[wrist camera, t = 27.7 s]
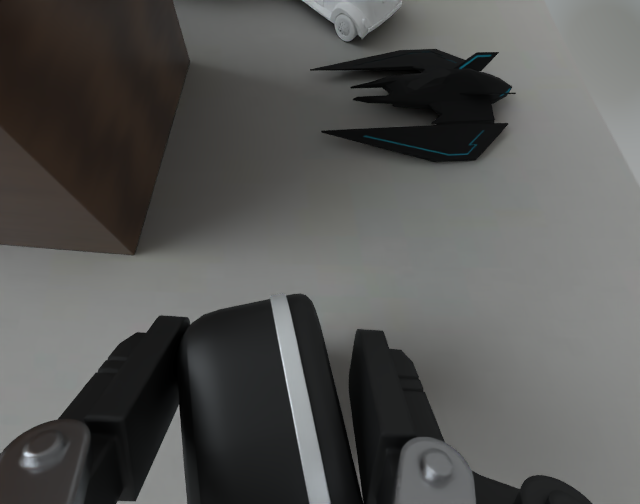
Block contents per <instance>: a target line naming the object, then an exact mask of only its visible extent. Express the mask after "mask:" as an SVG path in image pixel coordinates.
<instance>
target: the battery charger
mask: <svg viewBox="0 0 640 504" xmlns="http://www.w3.org/2000/svg"><path fill="white" fill-rule="evenodd" d="M177 379H178V392H179V405H180V418H181V432H182V445H183V458H184V469H185V481H186V493H187V504H363V500H362V496H361V492H360V488H359V483H358V479H357V475H356V471H355V466H354V462H353V458H352V454H351V449H350V445H349V441H348V437H347V432H346V428H345V424H344V420H343V416H342V411H341V407H340V403H339V399H338V395H337V391H336V387H335V383H334V378H333V374H332V370H331V366H330V362H329V358H328V354H327V350H326V345H325V341H324V338H323V334H322V330H321V326H320V323H319V319H318V316H317V313H316V310H315V307H314V305H313V302H312V301H311V300H310V299H309V298H308V297H307V296H306V295H304V294H292V295H287V296H286V295H285V293H281V294H276V295H271V296H270V299H268V300H263V301H258V302H253V303H249V304H244V305H239V306H234V307H229V308H224V309H220V310H217V311H214V312H211V313H208V314H205V315H203V316H201V317H200V318H198V319H197V320H196V321H194V322H193V323H192V324H191V325H190V326H189V327H188V329H187V330H186V332H185V333H184V334H183V336H182V337H181V341H180V345H179V349H178V353H177Z"/></svg>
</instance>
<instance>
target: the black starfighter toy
mask: <svg viewBox="0 0 640 504" xmlns="http://www.w3.org/2000/svg"><path fill="white" fill-rule="evenodd" d="M498 53H499V52H478V53H475V54H474V55H472V56H471V57H470V58H468V59H467V60H464V59H461V58H458V57H456V56H453V55H450V54H448V53H445V52H442V51H440V50H437V49H422V50H399V51H395V52H390V53H385V54H381V55H376V56H371V57H366V58H362V59H357V60H352V61H348V62H343V63H338V64H334V65H329V66H324V67H320V68H315V69H310V70H418V71H421V72H422V73H417V74H407V75H396V76H388V77H385V78H382V79H379V80H376V81H372V82H369V83H365V84H360V85H356V86H352V87H351V88H383V89H385V90H386V91H387V92H388V93H389V94H388V95H387V96H363V97H356V98H354V99H353V100H354V101H360V102H365V103H384V104H393V106H395V107H411V108H432V109H433V110H434V111H435V112H436V113H437V114H439V115H440V116H439V117H438V118H437V119H436V120H434V121H433V122H432V124H436V125H431V126H410V127H389V128H368V129H347V130H327V131H321V132H322V133H326V134H329V135H333V136H337V137H341V138H345V139H349V140H352V141H356V142H360V143H364V144H368V145H372V146H376V147H379V148H383V149H387V150H391V151H395V152H399V153H403V154H406V155H410V156H414V157H418V158H422V159H426V160H430V161H433V162H441V161H467V160H476V159H477V158H478V157H479V156H480V155H481V154H482V153H483V152H484V151H485V149H486V148H487V147H488V146H489V145H490V144H491V143H492V142H493V141H494V140H495V138H496V137H497V136H498V135H499V134H500V133H501V132H502V131H503V130H504V129H505V127H506V126H507V125H508V123H494V120H495V119H494V114H493V110H492V105H491V104H492V103H495V102H497V101H498V100H500V99H502V98H504V97H506V96H507V94H516V93H509V91H510V90H511V88H512V86H510V85H509V84H507V83H506V82H504V81H503V80H501V79H500V78H498V77H495V76H493V75H490V74H487V73H484V72H478V71H482V70H483V69H484V67H485V66H486V65H487V64H488V63H489V62H490V61H491V60H492V59H493V58H494V57H495V56H496V55H497V54H498Z"/></svg>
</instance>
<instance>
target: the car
mask: <svg viewBox="0 0 640 504" xmlns="http://www.w3.org/2000/svg"><path fill="white" fill-rule="evenodd" d="M302 1H303V2H305V3H306V4H307V5H309V6H310V7H311V8H313V9H314V10H315V11H317V12H318V13H320V14H321V15H322V16H324V17H325V18H326V19H328V20H329V21H331V22H332V23H335V30H336V32H337V35H338V36H339V37H340V38H341V39H342V40H344V41H351V40H352V39H353V38H354V37H356V36H357V35H359V36H360V37H361V38H362V39H363V38H364V37H365V36H366V35H367V34H368V33H369V32H371V31H373V30H374V29H376V28H377V27H378V26H381V24H382V23H383V22H385V21H386V20H387V19H389V17H391V16H392V15H393V14H394V13H395V12H396V11H397V10H398V9H399V8H400V7H401V6H402V1H401V0H302Z"/></svg>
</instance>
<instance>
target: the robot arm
mask: <svg viewBox="0 0 640 504" xmlns="http://www.w3.org/2000/svg"><path fill="white" fill-rule="evenodd" d="M189 326H190V321H189V318H188V317H176V316H162V315H161V316H159V317H158V318H157V319H156V320H155V322H154V323H153V324H152V326H151V327H150V328H149V330H148V331H147V333H140V332H137V333H135V334H134V335H132V336H130V337H129V338H127V339H126V340H124V341H123V342H121V343H120V344H119V345H118V346H117V347H116V349H115V350H114V351H113V352H112V353H111V355H110V356H109V357H108V360H106V361H105V362H104V363H103V364H102V366H101V367H100V368H99V369H98V373H95V374H94V376H93V377H92V378H91V379H90V380H89V382H88V383H87V384H86V385H85V387H84V388H83V389H82V390H81V392H80V393H79V394H78V395H77V396H76V398H75V399H74V400H73V401H72V403H71V404H70V405H69V406H68V408H67V409H66V410H65V411H64V412H63V414H62V415H61V416H60V417H59V419H58V420H53V421H49V422H46V423H43V424H40V425H38V426H36V427H33V428H32V429H30V430H28V431H26V432H24V433H23V434H21V435H20V436H18V437H17V438H16V439H15V440H13V441H12V442H11V443H10V444H9V445H8V446H7V447H6V448H5V449H4V450H3V452H2V453H1V454H0V504H116V503H117V501H136V499H137V497H138V495H139V492H140V490H141V488H142V486H143V484H144V481H145V479H146V477H147V475H148V472H149V470H150V468H151V466H152V463H153V461H154V459H155V457H156V454H157V452H158V450H159V448H160V445H161V443H162V441H163V439H164V436H165V434H166V432H167V430H168V428H169V425H170V423H171V421H172V419H173V416H174V414H175V412H176V410H177V407H178V405H179V392H178V379H177V353H178V349H179V345H180V341H181V337H182V336H183V334H184V333H185V332H186V330H187V329H188V327H189ZM349 397H350V404H351V412H352V420H353V427H354V435H355V442H356V450H357V457H358V465H359V472H360V480H361V487H362V495H363V502H364V504H592V503H591V502H590V501H589V500H588V499H587V498H586V497H585V496H584V495H583V494H581V493H580V492H579V491H577V490H576V489H574V488H573V487H572V486H570V485H568V484H566V483H565V482H562V481H560V480H558V479H555V478H552V477H549V476H544V475H536V476H531V477H529V478H527V479H526V480H525V481H524V482H523V484H522V486H521V488H520V489H518V488H515V487H512V486H509V485H506V484H503V483H501V482H498V481H495V480H492V479H489V478H486V477H484V476H481V475H479V474H477V473H475V472H474V471H472V470H471V468H470V467H469V465H468V463H467V462H466V460H465V459H464V457H463V456H462V455H461V454H460V453H459V452H458V451H457V450H455V449H454V448H453V447H451V446H450V445H449V444H447V443H445V441H444V439H443V436H442V434H441V431H440V429H439V426H438V424H437V421H436V419H435V416H434V414H433V411H432V409H431V406H430V404H429V401H428V399H427V396H426V394H425V392H423V386H422V384H421V381H420V380H419V376H418V374H417V371H416V369H415V366H414V364H413V362H412V361H411V360H410V359H409V358H408V357H407V356H406V355H405V354H404V353H403V352H402V350H397V349H389V347H388V344H387V340H386V337H385V334H384V332H383V331H378V330H363V329H357V331H356V334H355V340H354V346H353V353H352V359H351V365H350V372H349Z"/></svg>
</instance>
